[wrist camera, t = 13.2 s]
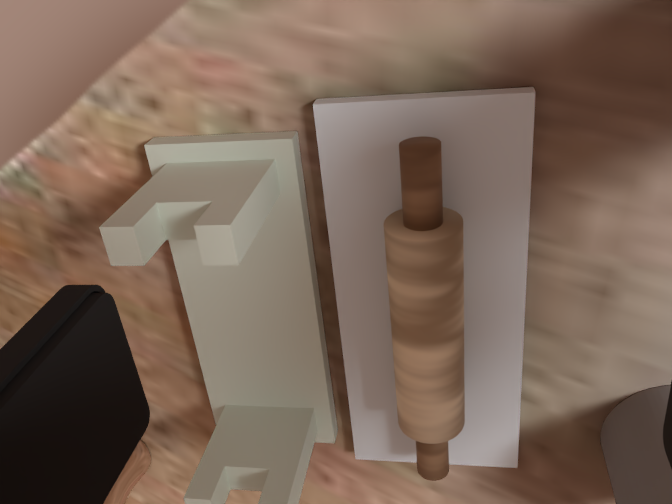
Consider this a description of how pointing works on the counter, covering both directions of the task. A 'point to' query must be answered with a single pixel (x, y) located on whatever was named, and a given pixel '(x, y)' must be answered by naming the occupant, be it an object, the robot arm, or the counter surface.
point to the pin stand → (240, 301)
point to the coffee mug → (638, 449)
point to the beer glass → (130, 475)
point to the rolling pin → (426, 307)
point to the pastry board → (478, 241)
